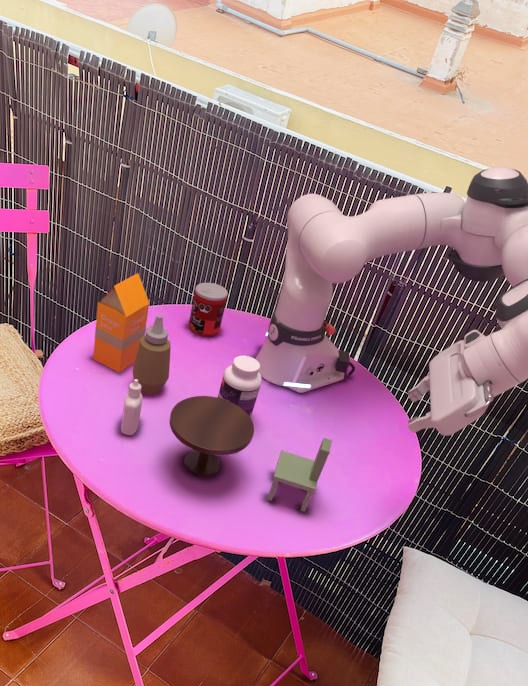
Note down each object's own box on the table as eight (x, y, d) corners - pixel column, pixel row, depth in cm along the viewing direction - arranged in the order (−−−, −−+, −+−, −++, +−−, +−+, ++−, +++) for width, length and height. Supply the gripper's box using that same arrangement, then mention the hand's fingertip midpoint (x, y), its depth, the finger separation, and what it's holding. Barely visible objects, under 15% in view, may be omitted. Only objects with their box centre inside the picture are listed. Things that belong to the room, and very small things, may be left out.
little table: (248, 453, 141) (261, 410, 133) (231, 504, 129) (244, 460, 122) (175, 430, 143) (183, 386, 135) (151, 478, 131) (159, 434, 123)
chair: (311, 486, 136) (333, 433, 127) (305, 513, 130) (328, 459, 121) (273, 474, 137) (291, 420, 127) (265, 500, 131) (284, 446, 122)
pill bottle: (207, 408, 150) (220, 353, 140) (240, 404, 152) (255, 350, 142) (222, 432, 144) (236, 376, 134) (255, 427, 147) (272, 372, 137)
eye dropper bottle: (112, 428, 140) (118, 380, 132) (130, 416, 144) (137, 369, 135) (128, 438, 138) (135, 391, 130) (146, 426, 142) (153, 379, 134)
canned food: (183, 322, 174) (190, 282, 166) (212, 320, 177) (220, 281, 169) (194, 338, 169) (202, 299, 162) (223, 336, 172) (232, 297, 164)
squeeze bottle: (168, 380, 155) (180, 310, 143) (164, 401, 149) (177, 330, 137) (133, 373, 155) (142, 303, 142) (128, 394, 149) (137, 323, 136)
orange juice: (92, 358, 157) (99, 279, 143) (115, 343, 162) (124, 265, 149) (119, 373, 154) (129, 293, 140) (142, 357, 160) (153, 279, 146)
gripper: (506, 418, 100) (421, 461, 108) (493, 351, 115) (420, 394, 123) (482, 387, 98) (398, 433, 106) (472, 324, 113) (399, 369, 121)
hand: (410, 411), depth 115 cm, fingers open, 8 cm apart
